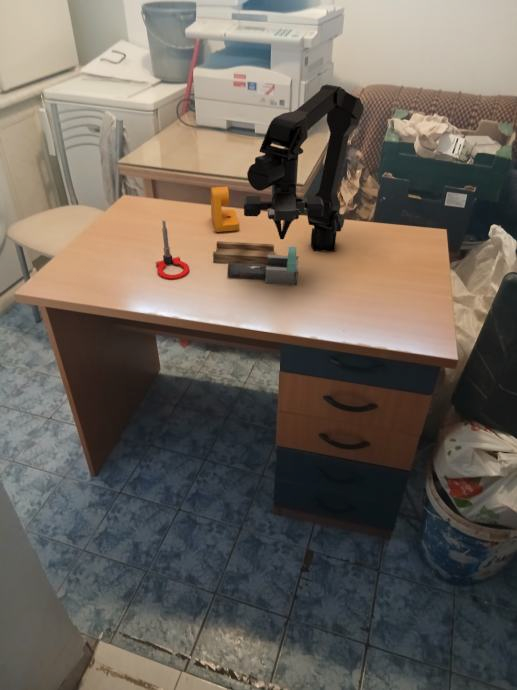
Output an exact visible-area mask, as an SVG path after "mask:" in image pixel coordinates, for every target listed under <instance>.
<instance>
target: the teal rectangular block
mask: <svg viewBox="0 0 517 690" xmlns="http://www.w3.org/2000/svg"><path fill="white" fill-rule="evenodd" d="M287 251H288V254H287V256H288V261H287V271H293V272H295V263H296V256H297V246H288V250H287Z"/></svg>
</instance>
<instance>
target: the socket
mask: <svg viewBox="0 0 517 690" xmlns="http://www.w3.org/2000/svg"><path fill="white" fill-rule="evenodd" d="M287 261H288V255H283V254H282V255H281V254H274V255H268V264H267V265H282V267H266V279H265V281H264V283H265V284H266V285H281V286H282V285H283V286H297V283H298V269H299V256H298V255H296V263H295V272H293V271H287Z"/></svg>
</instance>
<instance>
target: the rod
mask: <svg viewBox="0 0 517 690" xmlns="http://www.w3.org/2000/svg"><path fill="white" fill-rule="evenodd" d="M266 267H282V265H263V264H244V263H228V264H227V278H228V277H231V278H247V279H250V278H251V279H265V280H266Z"/></svg>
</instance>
